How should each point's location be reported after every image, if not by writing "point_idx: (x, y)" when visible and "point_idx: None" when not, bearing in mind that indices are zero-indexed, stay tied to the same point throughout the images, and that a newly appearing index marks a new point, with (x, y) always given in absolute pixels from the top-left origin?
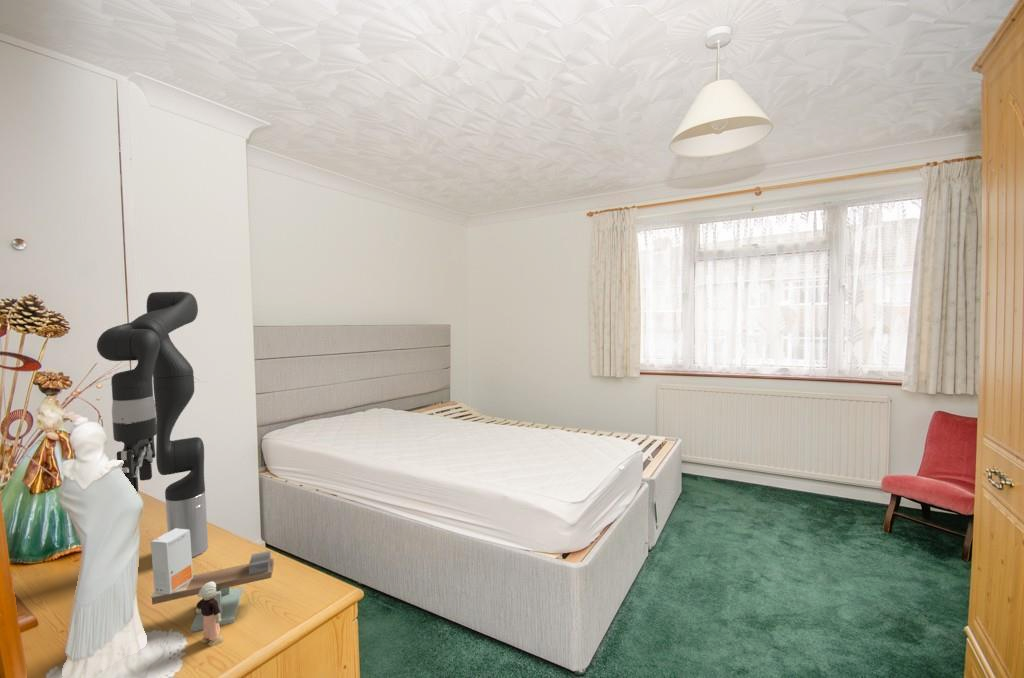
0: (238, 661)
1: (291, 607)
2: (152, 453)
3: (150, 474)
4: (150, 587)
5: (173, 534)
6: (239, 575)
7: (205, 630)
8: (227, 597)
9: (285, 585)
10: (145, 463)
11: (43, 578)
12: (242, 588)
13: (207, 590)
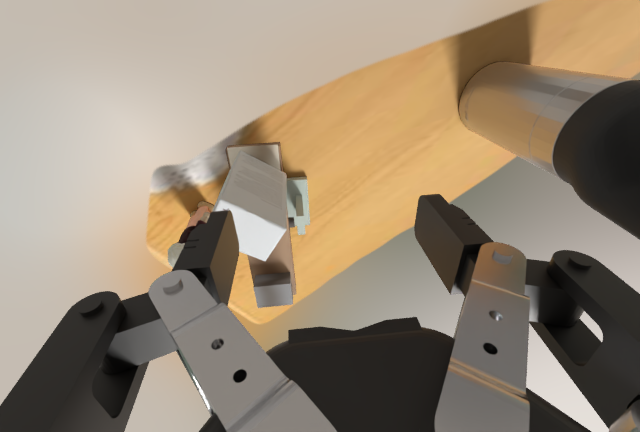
0: (158, 249)
1: (251, 280)
2: (546, 338)
3: (424, 248)
4: (380, 69)
5: (246, 238)
6: (260, 262)
7: (195, 215)
8: (288, 212)
9: (304, 267)
10: (466, 279)
11: None
12: (308, 224)
13: (169, 263)
